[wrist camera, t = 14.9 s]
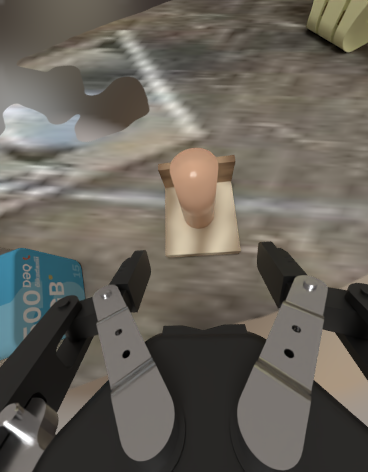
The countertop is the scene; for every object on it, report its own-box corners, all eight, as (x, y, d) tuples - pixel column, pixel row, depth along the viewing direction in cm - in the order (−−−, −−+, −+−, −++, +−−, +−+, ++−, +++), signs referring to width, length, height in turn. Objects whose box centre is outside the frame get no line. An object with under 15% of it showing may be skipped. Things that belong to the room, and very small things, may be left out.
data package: (89, 329, 28) (11, 355, 17) (64, 338, 28) (-31, 370, 17) (81, 260, 32) (13, 244, 21) (58, 269, 32) (-22, 257, 21)
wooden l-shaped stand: (168, 257, 30) (157, 248, 24) (167, 188, 35) (158, 164, 28) (238, 253, 29) (247, 242, 22) (228, 182, 33) (234, 155, 27)
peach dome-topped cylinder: (184, 229, 29) (169, 190, 18) (183, 202, 31) (169, 151, 20) (215, 227, 29) (220, 185, 17) (212, 199, 30) (216, 145, 19)
